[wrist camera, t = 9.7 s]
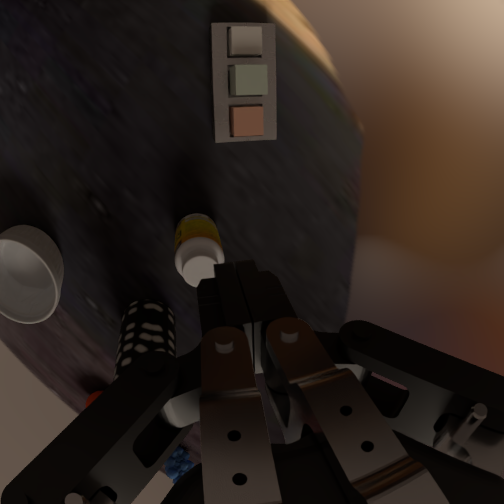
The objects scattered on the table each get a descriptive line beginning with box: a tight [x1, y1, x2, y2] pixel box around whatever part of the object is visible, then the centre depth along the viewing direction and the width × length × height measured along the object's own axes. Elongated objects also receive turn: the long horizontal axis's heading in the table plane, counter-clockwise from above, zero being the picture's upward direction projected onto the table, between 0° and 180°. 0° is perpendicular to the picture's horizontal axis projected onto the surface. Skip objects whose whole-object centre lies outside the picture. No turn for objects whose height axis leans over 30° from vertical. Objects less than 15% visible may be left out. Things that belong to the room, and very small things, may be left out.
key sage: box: [230, 65, 268, 95], centre depth 30 cm, size 3×3×4 cm
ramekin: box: [0, 225, 64, 324], centre depth 36 cm, size 13×13×7 cm
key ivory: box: [227, 26, 262, 58], centre depth 30 cm, size 3×3×4 cm
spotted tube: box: [113, 299, 177, 381], centre depth 39 cm, size 8×8×20 cm
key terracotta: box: [229, 105, 264, 137], centre depth 34 cm, size 3×3×4 cm
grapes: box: [164, 446, 194, 484], centre depth 62 cm, size 12×7×12 cm, turn 22°
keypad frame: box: [209, 23, 276, 143], centre depth 33 cm, size 7×14×3 cm, turn 1°
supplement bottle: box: [175, 213, 224, 287], centre depth 38 cm, size 6×6×10 cm
